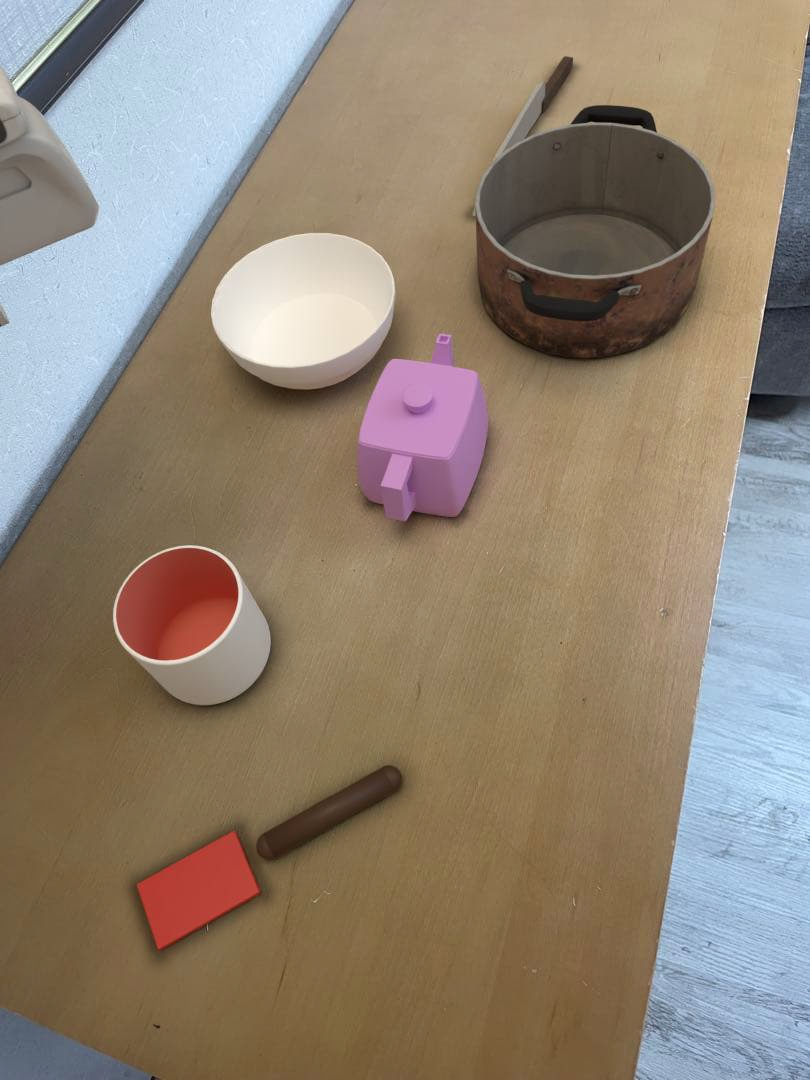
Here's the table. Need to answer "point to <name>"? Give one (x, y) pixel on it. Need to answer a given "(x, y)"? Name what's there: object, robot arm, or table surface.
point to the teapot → (423, 436)
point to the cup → (193, 624)
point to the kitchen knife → (536, 106)
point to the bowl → (305, 309)
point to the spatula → (244, 862)
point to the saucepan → (592, 234)
